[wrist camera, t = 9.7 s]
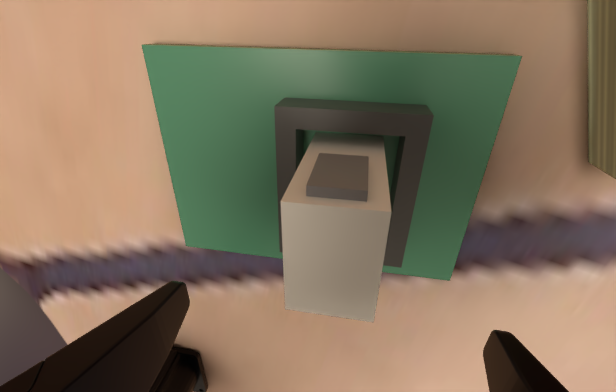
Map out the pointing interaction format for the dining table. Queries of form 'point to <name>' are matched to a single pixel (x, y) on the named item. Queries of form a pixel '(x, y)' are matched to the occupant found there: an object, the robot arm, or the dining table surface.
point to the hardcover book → (602, 85)
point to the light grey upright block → (336, 227)
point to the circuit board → (327, 119)
